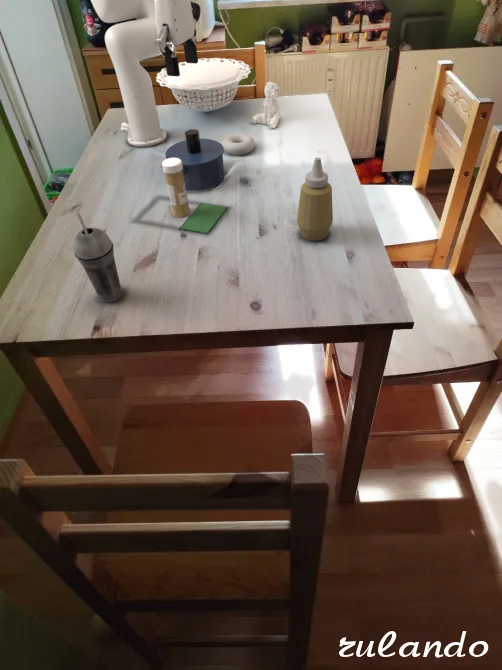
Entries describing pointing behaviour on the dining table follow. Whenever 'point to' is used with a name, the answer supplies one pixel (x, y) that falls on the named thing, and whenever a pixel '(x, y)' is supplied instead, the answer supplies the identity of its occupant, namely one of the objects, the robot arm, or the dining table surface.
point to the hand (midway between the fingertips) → (183, 69)
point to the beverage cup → (98, 261)
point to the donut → (238, 144)
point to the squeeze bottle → (315, 204)
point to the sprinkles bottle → (176, 186)
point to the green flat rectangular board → (203, 218)
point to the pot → (204, 175)
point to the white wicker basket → (205, 82)
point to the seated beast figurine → (269, 107)
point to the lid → (195, 150)
